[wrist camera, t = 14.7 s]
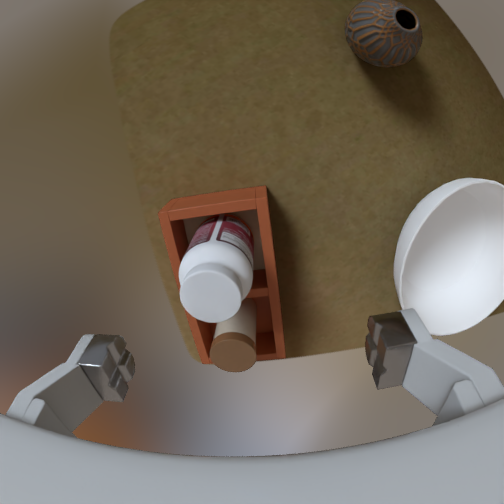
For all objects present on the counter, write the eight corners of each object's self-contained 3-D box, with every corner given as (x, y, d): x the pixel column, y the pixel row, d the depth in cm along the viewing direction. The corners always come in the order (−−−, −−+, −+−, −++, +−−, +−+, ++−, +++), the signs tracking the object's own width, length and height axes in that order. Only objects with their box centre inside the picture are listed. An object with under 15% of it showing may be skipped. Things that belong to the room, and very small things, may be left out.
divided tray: (207, 339, 39) (202, 364, 35) (170, 199, 31) (157, 212, 27) (283, 333, 38) (285, 358, 34) (266, 185, 31) (266, 197, 26)
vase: (329, 13, 22) (352, -19, 15) (390, 10, 22) (428, -15, 14) (348, 74, 25) (379, 61, 17) (407, 69, 24) (452, 60, 16)
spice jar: (211, 308, 36) (200, 356, 29) (237, 285, 35) (230, 331, 27) (239, 329, 38) (235, 378, 30) (266, 308, 36) (266, 357, 29)
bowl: (489, 279, 34) (516, 306, 28) (382, 318, 37) (400, 355, 31) (491, 154, 27) (529, 167, 21) (363, 182, 30) (390, 202, 23)
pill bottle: (200, 267, 34) (177, 331, 24) (191, 213, 31) (160, 263, 21) (257, 264, 33) (254, 329, 23) (252, 209, 31) (247, 258, 21)
